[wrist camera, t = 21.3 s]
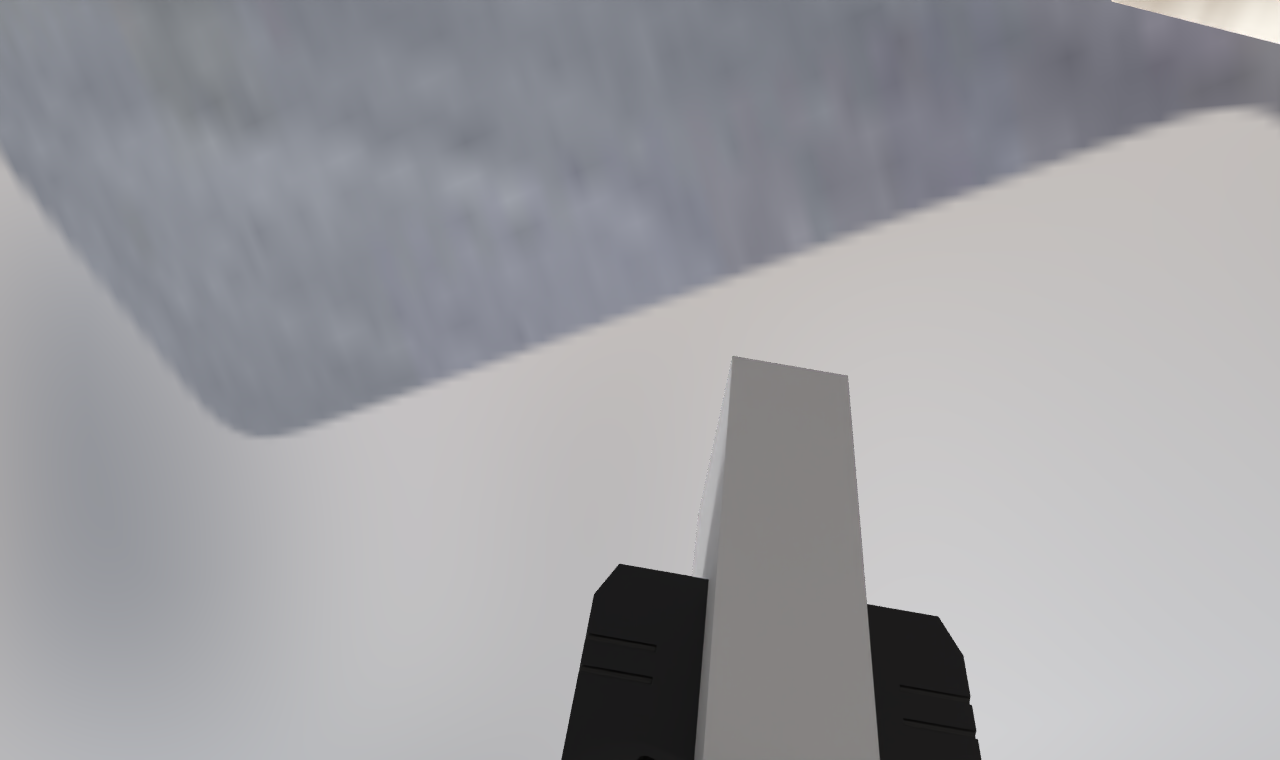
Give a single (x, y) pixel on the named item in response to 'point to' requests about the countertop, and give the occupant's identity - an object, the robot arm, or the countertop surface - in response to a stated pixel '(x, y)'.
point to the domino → (1222, 14)
